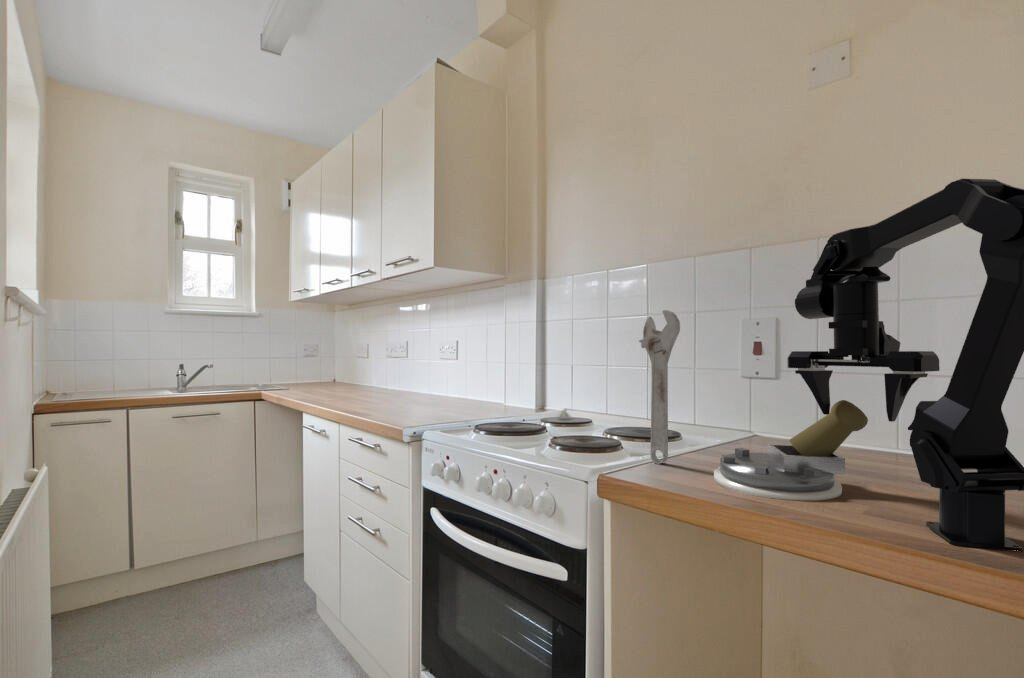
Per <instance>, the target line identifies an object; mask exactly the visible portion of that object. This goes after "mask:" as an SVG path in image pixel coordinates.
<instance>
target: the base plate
mask: <svg viewBox="0 0 1024 678" xmlns="http://www.w3.org/2000/svg"><path fill="white" fill-rule="evenodd" d="M713 480H714V481H715V483H717V484H718V486H719V485H720V486H721V487H722V488H725V489H727V490H729V491H733V492H736V493H741V494H745V495H748V496H749V495H751V496H756V497H760V498H767V499H774V500H775V499H777V500H787V501H823V500H824V501H825V500H831V499H835V498H838V497H840V496H841V495H842V493H843V486H842V484H841V483H840V482H839V481H837V480H836V479H834V486H833V487H832V488H830V489H827V490H823V491H814V492H792V491H780V490H772V489H765V488H759V487H755V486H750V485H746V484H742V483H739V482H736V481H733V480H731V479H728V478H727V477H725V476H723V475H722V474H721V472H720V466H718V467H716V468H715V469H714V471H713Z"/></svg>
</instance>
